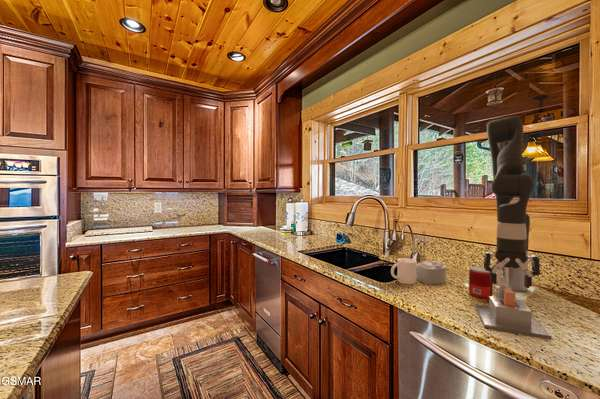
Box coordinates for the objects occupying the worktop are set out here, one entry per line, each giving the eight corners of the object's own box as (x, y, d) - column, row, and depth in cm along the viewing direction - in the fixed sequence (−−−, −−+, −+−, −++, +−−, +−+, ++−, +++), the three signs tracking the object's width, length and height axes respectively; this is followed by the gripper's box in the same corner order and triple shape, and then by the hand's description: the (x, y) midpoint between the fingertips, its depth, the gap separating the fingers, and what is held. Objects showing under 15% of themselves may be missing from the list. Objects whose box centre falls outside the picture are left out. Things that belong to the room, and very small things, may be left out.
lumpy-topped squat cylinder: (413, 277, 131) (413, 260, 130) (435, 275, 134) (436, 258, 133) (428, 285, 120) (429, 266, 120) (452, 282, 124) (452, 264, 123)
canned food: (496, 299, 104) (496, 272, 104) (473, 298, 105) (474, 271, 105) (486, 292, 111) (487, 266, 111) (465, 291, 113) (466, 265, 113)
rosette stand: (474, 304, 100) (474, 259, 99) (527, 312, 93) (528, 264, 92) (484, 327, 83) (485, 274, 82) (551, 339, 76) (552, 281, 76)
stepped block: (502, 315, 89) (502, 289, 88) (513, 317, 88) (513, 290, 87) (504, 319, 86) (505, 292, 86) (516, 321, 85) (516, 293, 84)
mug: (394, 285, 120) (394, 263, 120) (386, 279, 128) (387, 258, 128) (419, 284, 121) (420, 262, 121) (410, 278, 129) (410, 257, 129)
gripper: (534, 235, 86) (533, 284, 87) (482, 233, 92) (481, 279, 93) (544, 239, 79) (543, 293, 80) (487, 237, 85) (486, 286, 86)
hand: (510, 285), depth 86 cm, fingers open, 8 cm apart
